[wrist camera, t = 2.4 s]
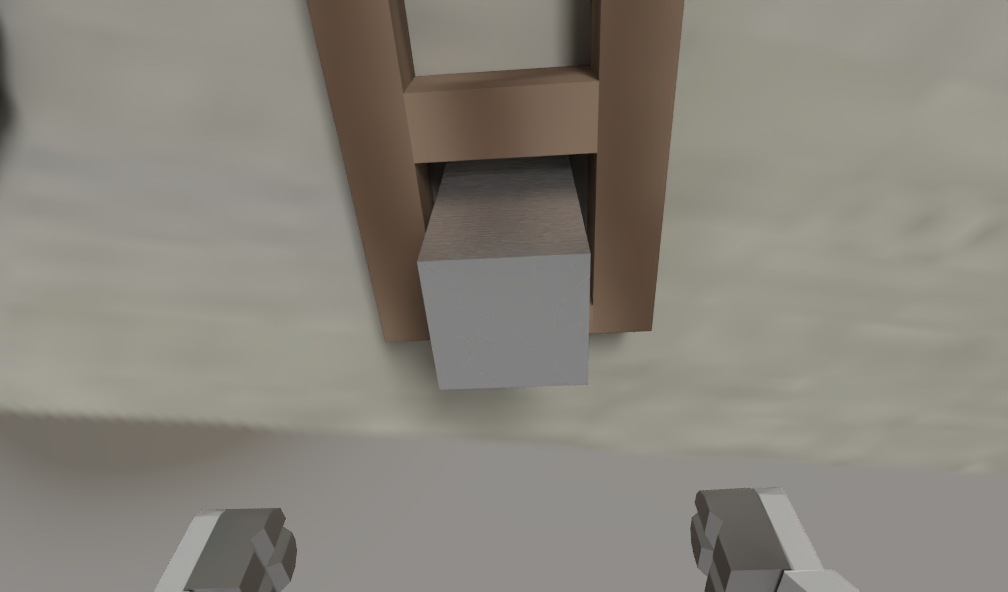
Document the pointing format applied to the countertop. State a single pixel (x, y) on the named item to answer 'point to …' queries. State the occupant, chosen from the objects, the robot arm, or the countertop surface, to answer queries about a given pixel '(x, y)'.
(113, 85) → the countertop surface
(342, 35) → the walnut rail
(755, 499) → the robot arm
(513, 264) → the steel block
